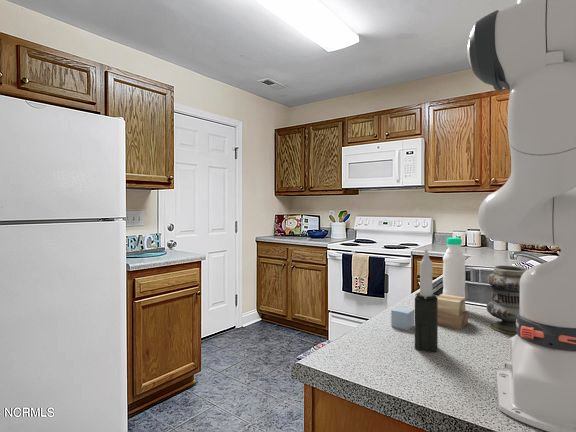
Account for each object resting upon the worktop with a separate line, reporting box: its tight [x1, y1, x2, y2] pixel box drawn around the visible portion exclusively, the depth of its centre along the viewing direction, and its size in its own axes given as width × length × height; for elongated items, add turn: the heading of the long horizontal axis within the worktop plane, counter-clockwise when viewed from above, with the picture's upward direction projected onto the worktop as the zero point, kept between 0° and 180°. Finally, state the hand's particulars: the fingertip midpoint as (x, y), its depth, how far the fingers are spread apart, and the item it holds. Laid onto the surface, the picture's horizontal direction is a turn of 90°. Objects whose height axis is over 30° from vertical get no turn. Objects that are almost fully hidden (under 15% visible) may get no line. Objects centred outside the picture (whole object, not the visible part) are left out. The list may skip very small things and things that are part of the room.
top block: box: [436, 293, 466, 316], centre depth 107 cm, size 7×7×4 cm
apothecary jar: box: [485, 264, 529, 336], centre depth 100 cm, size 12×12×18 cm
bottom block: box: [438, 309, 469, 330], centre depth 107 cm, size 8×8×4 cm
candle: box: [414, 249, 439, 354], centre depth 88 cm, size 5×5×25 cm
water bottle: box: [442, 236, 466, 298], centre depth 120 cm, size 7×7×25 cm
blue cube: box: [390, 306, 415, 331], centre depth 104 cm, size 5×5×5 cm
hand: (563, 157), depth 88 cm, fingers open, 8 cm apart
